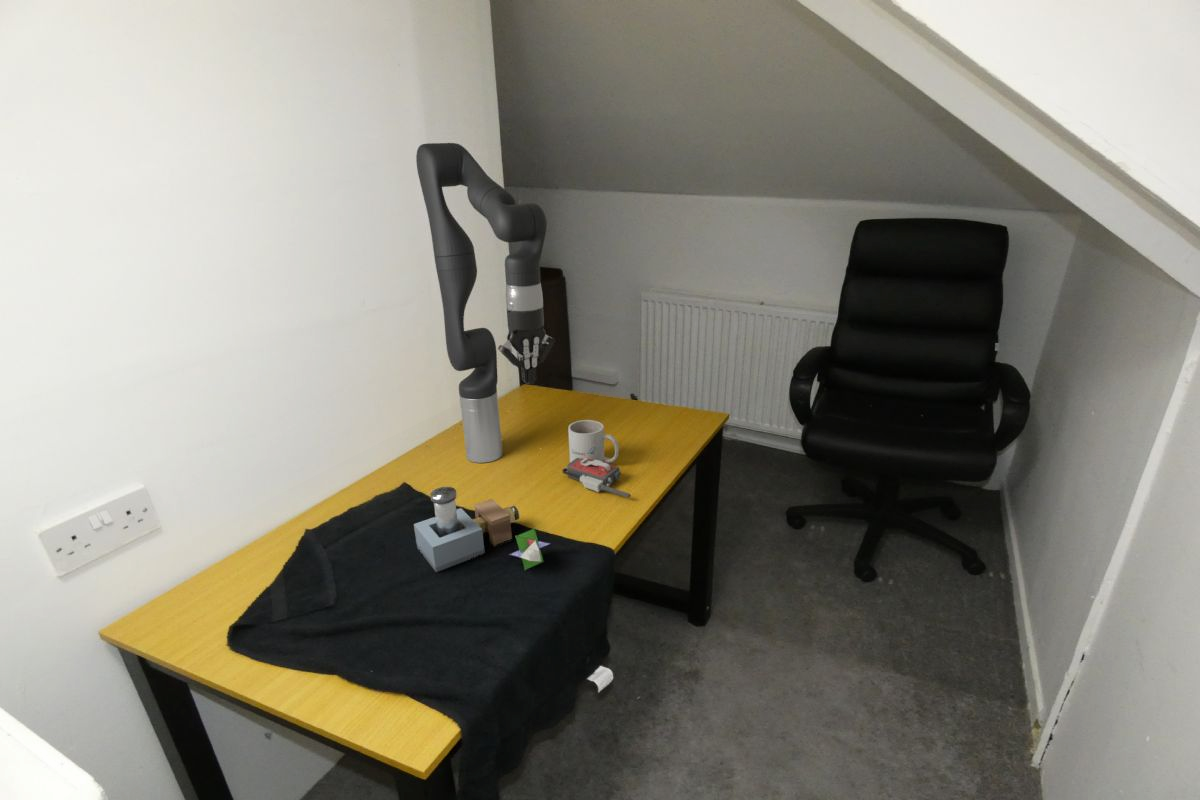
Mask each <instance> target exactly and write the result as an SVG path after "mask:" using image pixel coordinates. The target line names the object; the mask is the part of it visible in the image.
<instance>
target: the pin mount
mask: <svg viewBox="0 0 1200 800" xmlns="http://www.w3.org/2000/svg"><path fill="white" fill-rule="evenodd" d="M473 507H474V515H475V516H474V517H475V518H478V517H481V516H482V517H483V518H484V519H485V520H486V521H487V522H488V537H489V539H488V540H489V543H490V542H491V543H492V544H493V545H494V546H495V545H497V544H499V543H502V542H504V541H507V540H510V539H512V540H513V535H512V527H511V525H512V523H510V515H509V514H508V513H507V512H506V511H505V510H504V508H503V507H502V506H501V505H500V504H498V503H497V502H496V501H495V500H494V499H493V498H491V499H487V500H484V501H482V502H479V503H476V504H474V505H473ZM510 541H511V540H510ZM491 543H490V544H491ZM492 544H491V545H492ZM493 545H492V546H493ZM494 546H493V547H494ZM497 546H498V545H497ZM495 547H496V546H495Z"/></svg>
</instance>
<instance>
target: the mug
mask: <svg viewBox="0 0 1200 800" xmlns="http://www.w3.org/2000/svg"><path fill="white" fill-rule="evenodd" d="M604 426H605V425H604V424H603V423H602V422H599V421H597V420H593V419H584V420H583V419H582V420H581V419H580V420H576V421H575V422H574V421H573V422H571V423H570V424H569V425H568V427H567V428H568V429H567V430H568V448H569V449H568V450H569V463H570V462H572V461H573V460H574V459H576V458H584V459H585V458H587V459H593V460H599V461H602V462H606V463H609V464H611V463H614V462H615V461H616V460H617V458H618V455H619V453H620V452H619V450H620V448H619V447H620V446H619V442H618V441H617V439H616V437H614V436H613V435H612V434H610V433H609V434H608V433H607V434H606V433H604V430H605V428H604ZM605 440H610V441H611V442H612V444H613V446H614V456H613V457H612V458H610V457H606V456H605Z"/></svg>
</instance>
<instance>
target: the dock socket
mask: <svg viewBox="0 0 1200 800" xmlns="http://www.w3.org/2000/svg"><path fill="white" fill-rule="evenodd" d="M456 511H457V519H458V527H459V531H457V532H454V533H452V534H449V535H446V536H443V537H441V538H439V537H438V530H437V522H436V516H434V517H430V518H428V519H425V520H421V521H419V522H416V523H414V524H413V528H414V529H413V530H414V534H415V535H414V536H415V543H416V547H417V550H418V551H419V550H420V551H419V553H421V555H422V554H423V555H422V556H423V558H424V559H425V560H426V561H427V562H428V564H429V565H430V566H431V568H432V569H433V570H434V571H435V572H436V573H438V572H441V571H443V570H445V569H448V568H451V567H454V566H456V565H459V564H462V563H464V562H466V561H469V560H472V559H474V558H477V557H479V556H478V555H480V556H482V555H484V554H483V553H485V554H486V551H485V545H484V533H482V529H481V528H480V527H479V526H478V525H477V524H476V523H475V522H474V521H473V520H472V519H473V518H472V517H470V516H469V515H468V514H467V513H466V511H464V509H463V508H462V507H461V508H456ZM460 525H461V526H462V527H463V528H464V529H463V530H461V529H460ZM481 554H482V555H481ZM476 556H477V557H476ZM473 557H474V558H473ZM471 558H472V559H471Z"/></svg>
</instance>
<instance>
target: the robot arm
mask: <svg viewBox="0 0 1200 800" xmlns="http://www.w3.org/2000/svg"><path fill="white" fill-rule="evenodd" d="M415 157H416V158H415V159H416V161H415V163H416V169H417V174H418V175H417V176H418V179H419V185H420V188H421V192H422V195H423V196H422V197H423V200H424V204H425V209H426V214H427V216H428V221H429V222H428V223H429V228H430V234H431V241H432V250H433V257H434V264H435V269H436V274H437V280H438V286H439V290H440V291H439V292H440V296H441V302H442V303H441V304H442V309H443V320H444V323H443V324H444V332H445V333H444V334H445V343H446V344H445V345H446V352H447V356H448V360H449V362H450V363H449V364H450V365H451V366H452V367H453V369H454V370H455V371H458V372H464V371H469V370H472V372H471V373H470V374H469V375H468V376H466V377H465V378H463V379H462V380H461V381H460V383H459V384H458V393H459V401H460V402H459V404H460V410H461V418H462V428H463V436H464V446H465V455H466V459H467V460H468V461H469V462H472V463H478V464H479V463H480V464H482V463H490V462H494V461H496V460H499V459H500V458H501V457H502V456H503V444H502V443H503V442H502V432H501V419H500V410H499V409H500V408H499V399H498V388H497V386H498V385H497V384H498V361H497V359H498V357H497V349H498V351H499V352H500V353H501V354H502V355H503V356H504V357H505V358H506V359H507V361H509V362H510V363H511V364H512V365H513V366H515V367H517V368H518V369H521V380H522V382H524V383H525V385H528V386H530V385H534V384H535V383H536V382H535V381H537V366H538V365H539V364H542V363H544V362H545V360H546V358H547V357H548V355H549V354H550V351H551V349H552V348H553V347H554V344H555V342H556V339H555V338H554V337H551V336H549V335H548V334H546V333H547V332H546V330H545V329H544V325H545V317H544V315H545V314H544V297H543V290H542V288H543V287H542V284H541V283H542V282H541V259H542V253H543V247H544V243H545V239H546V235H547V229H548V227H547V225H548V222H547V217H546V214H545V211H544V210H543V208H542V207H541V206H540V205H539V204H537V203H535V202H534V203H533V202H529V203H516V200H515V198H514V196H513V194H511V193H510V192H509V191H508V190H507V189H505V188H504V187H503V186H502V185H500V184H499V183H497V182H496V181H494V180H493V179H492V178H491V177H490V176H489V175H488V174H487V173H486V171H485V170H484V169H483V168H482V166H481V165H480V164H479V163H478V161H477V160H476V159H475V158H474V157H473V156H472V154H471V153H470V152H469V151H468V150H467V148H465V147H464V146H463V145H462V144H460V143H456V142H455V143H454V142H442V143H441V142H438V143H436V142H435V143H434V142H433V143H432V142H430V143H427V142H426V143H422V144H420V145H419V146H418V148H417V151H416V155H415ZM457 186H463V187H466V188H467V189H466V192H467V198H468V201H469V203H470V205H471V206H472V208H473V209H474V210H475V211H476V212H478V213H479V214H480V215H481V216H482V217H484V218H485V219H486V220H487V222H488V223H489V225H490V227H491V229H492V232H493V233H494V235H495V237H496V238H497V239H498V240H500V241H502V242H505V243H517V242H521V245H520V248H519V249H518V250H517V251H515V252H512V253H510V254H508V255H507V256H506V257H505V259H504V271H505V305H506V307H505V308H506V319H507V320H506V321H507V329H508V334H507V337H506V341H505V343H503V344H502V345H501V344H500V345H498V348H497V346H496V340H495V337H494V335H493V333H492V332H491V331H490V330H489V329H488V328H487V327H479V328H478V327H477V328H473V329H472V328H471V329H468V330H465V326H464V325H465V323H464V320H465V310H466V307H467V304H468V301H469V298H470V296H471V294H472V292H473V289H474V286H475V284H476V281H477V275H478V267H477V260H476V253H475V247H474V244H473V242H472V239H471V238H470V237H469V235H468V234H467V233H466V231H465V230H464V228H463V227H462V226H461V225H460V224H459V222H458V221H457V220H456V219H455V217H454V215H453V214H452V212H451V211H450V208H449V207H448V204H447V201H446V199H445V195H444V192H443V191H444V190H443V188H447V187H457ZM513 349H514V350H515V351H516V355H517V357H516V356H515V355H514V353H513Z"/></svg>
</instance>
